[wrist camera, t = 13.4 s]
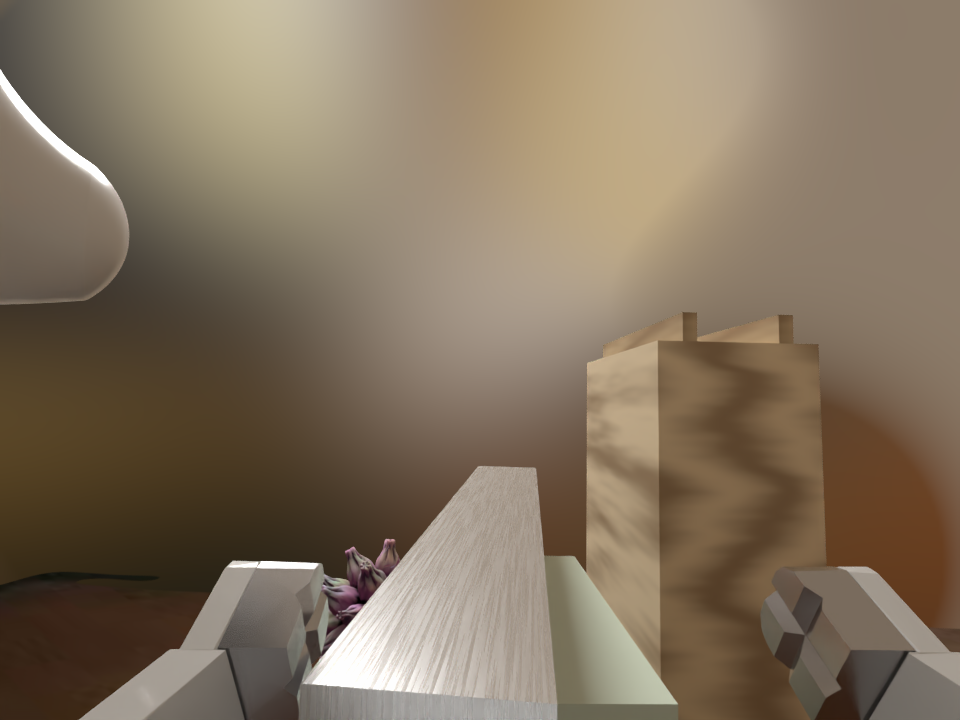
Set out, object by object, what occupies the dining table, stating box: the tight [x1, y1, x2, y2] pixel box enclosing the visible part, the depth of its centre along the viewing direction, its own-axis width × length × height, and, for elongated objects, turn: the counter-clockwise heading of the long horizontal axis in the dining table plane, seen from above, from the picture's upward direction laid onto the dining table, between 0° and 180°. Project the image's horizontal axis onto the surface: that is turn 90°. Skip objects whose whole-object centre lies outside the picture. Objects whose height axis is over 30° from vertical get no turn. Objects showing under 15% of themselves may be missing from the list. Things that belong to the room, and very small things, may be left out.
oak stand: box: [587, 312, 826, 720], centre depth 35 cm, size 9×16×28 cm, turn 2°
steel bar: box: [299, 466, 557, 720], centre depth 18 cm, size 4×24×4 cm
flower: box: [319, 539, 400, 659], centre depth 37 cm, size 12×12×12 cm
